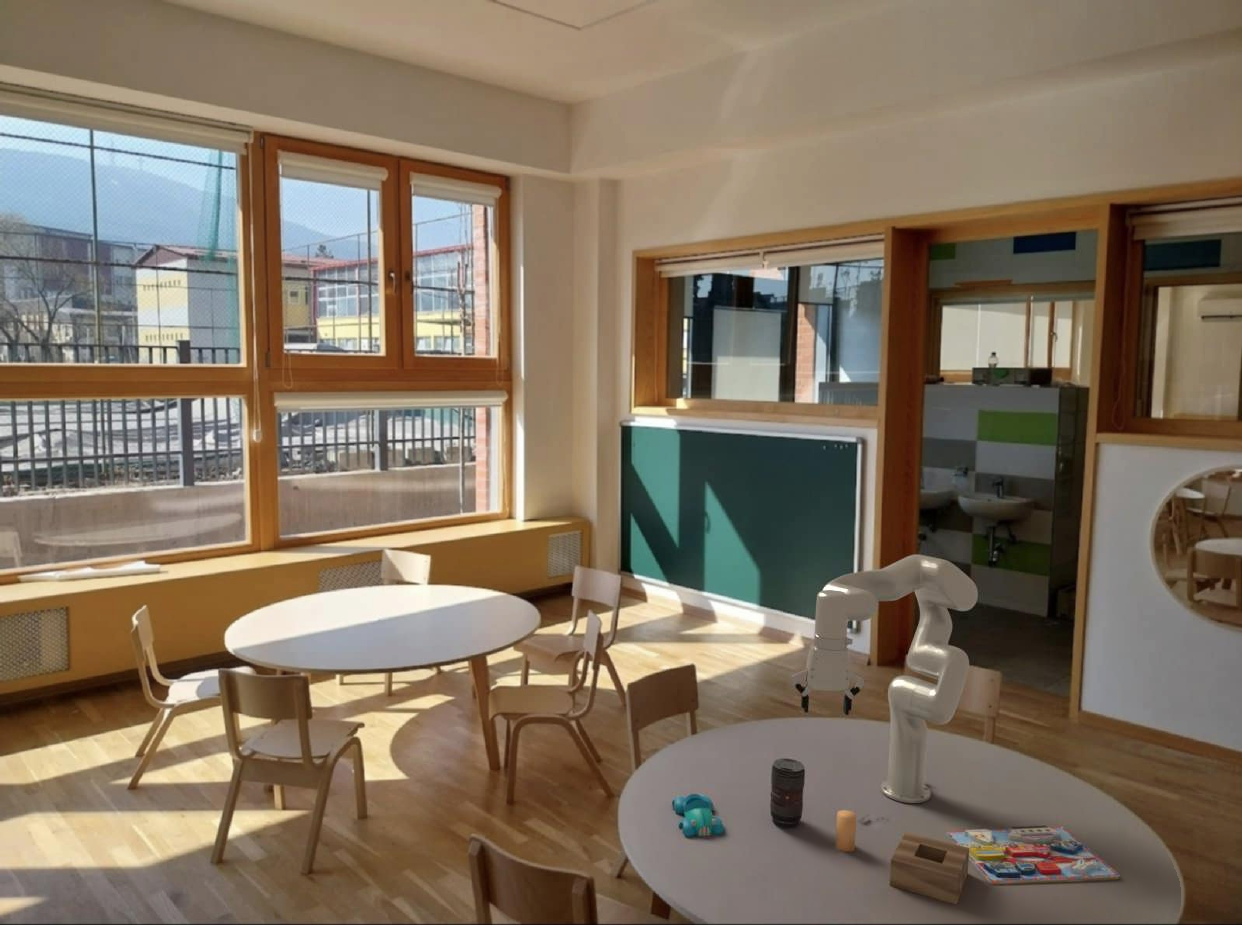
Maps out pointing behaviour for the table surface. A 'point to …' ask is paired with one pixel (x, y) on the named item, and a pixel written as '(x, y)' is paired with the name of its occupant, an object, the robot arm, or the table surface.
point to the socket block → (929, 867)
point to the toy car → (697, 816)
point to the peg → (846, 830)
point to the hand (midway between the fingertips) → (825, 711)
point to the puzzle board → (1031, 855)
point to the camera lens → (787, 792)
